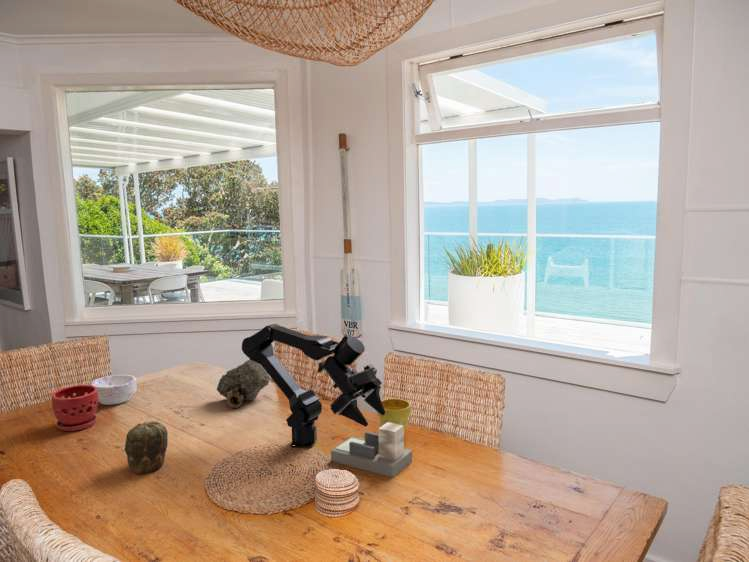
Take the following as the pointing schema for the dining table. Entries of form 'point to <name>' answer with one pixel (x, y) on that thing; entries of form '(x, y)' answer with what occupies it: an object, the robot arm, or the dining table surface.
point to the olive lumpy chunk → (146, 447)
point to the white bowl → (115, 388)
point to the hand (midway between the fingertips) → (375, 419)
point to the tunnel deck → (368, 455)
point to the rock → (243, 383)
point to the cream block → (391, 441)
